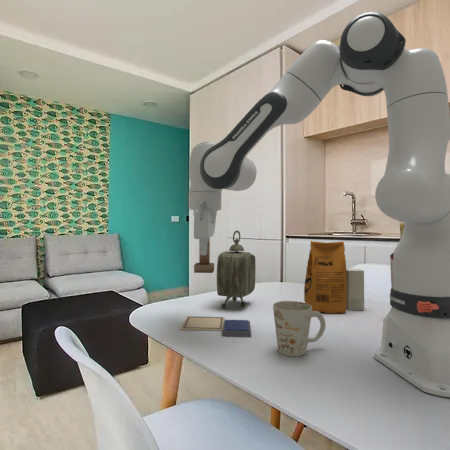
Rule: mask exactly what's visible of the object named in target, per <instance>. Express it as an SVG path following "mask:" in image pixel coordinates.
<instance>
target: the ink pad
mask: <svg viewBox="0 0 450 450" xmlns="http://www.w3.org/2000/svg"><path fill="white" fill-rule="evenodd" d="M221 336H222V337H240V338H241V337H244V338H245V337H246V338H249V337H250V338H251V337H252V327H251V320H248V319H225V320H224V324H223V331H222V334H221Z"/></svg>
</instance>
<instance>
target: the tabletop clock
mask: <svg viewBox="0 0 450 450" xmlns="http://www.w3.org/2000/svg"><path fill="white" fill-rule="evenodd" d="M236 234H238V238H235V235H236ZM232 241H233V243H234V244H231V246H230V247H229V249H228V250H229V251H227V250H226V251H223V252H221V253H219V254H218V256H217V264H216V293H217V296H219V297H226V299H225V301H224V303H221V305H220V306H221V308H222V309H226V308H227V303H228V301H229V300H230V299H232V301H233V302H236V301H237V298H239V299H240V303H239V304H240V306H241V307H245V305H246V302H245V301H244V300H243V298H244V297H246V296H249V295H250V294H252V293H253V292H254V291H255V287H256V256H255V255H254V254H253V253H250V252H249V251H248V252H247V251H246V252H245V249H244V248H245V247H243V245H241V244H239V243H240V241H241V232H240V230H235V231H234V232H233V234H232Z"/></svg>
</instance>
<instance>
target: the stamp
mask: <svg viewBox="0 0 450 450" xmlns="http://www.w3.org/2000/svg"><path fill="white" fill-rule="evenodd" d="M210 243H211V242H208V243H207V255H201V254H200V244H199V243H198V244H199V248H198V250H199V251H198V252H199V257H198V259H199V260H198V261H199V262H195V264H193V273H194V274H195V273H196V274H198V273H199V274H213V273H214V272H215V262H210V259H211V258H210V257H211V255H210V254H211V253H210V252H211V251H210V250H211V249H210V248H211V244H210Z"/></svg>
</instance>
